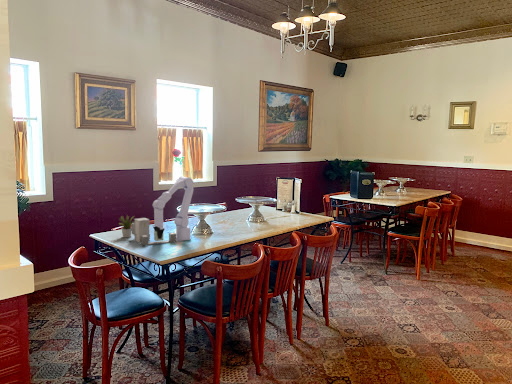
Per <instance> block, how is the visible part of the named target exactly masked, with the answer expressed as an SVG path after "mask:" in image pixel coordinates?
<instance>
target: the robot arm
mask: <svg viewBox="0 0 512 384" xmlns="http://www.w3.org/2000/svg"><path fill="white" fill-rule="evenodd" d="M180 188H183V190H184V193H183V198H182V203H181V205H180V210H179V212H178V213H177V214H176V216H175V218H174V220H173V222H174V224H175V229H176V230H175V232H176V233H175V234H176V240H177V242H181V241H182V242H183V241H189V240H191V227H190V226H189V223H190V222H189V218H190V217H189V215H188V214H189V213H188V212H189V209H190V206H191V202H192V197H193V195H194V180H193V179H192V177H189V176H188V177H187V176H180V177H179V178H178V179H176V181H175V183H174V184H173V185H172V186H171V187H170V188H169V189H168V190H167V191H164V192H162V194H161V195H160V196H159V197H158V198H157V199H155V200H154V201H153V202H152V204H151V205H152V208H153V213H154V214H153V217H154V221H153V223H154V224H152V227H153V229H154V231H157V235H158V239H162V235H163V236H164V231H165V228H164V208H165V206H166V203H168V201H170V200H171V199H172V195H173V194H174V193H175V192H176V191H178V190H179V189H180Z"/></svg>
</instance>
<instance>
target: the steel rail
mask: <svg viewBox="0 0 512 384" xmlns="http://www.w3.org/2000/svg"><path fill="white" fill-rule="evenodd" d="M172 243H178V241H177V240H176V241H174V242H171V241H169V239H168V240H162V241H148V244H145V245H143V244H142V243H141V242H139V245H140V246H142V247H143V246H144V247H145V246H151V245H152V246H153V245H155V246H156V245H162V244H172Z"/></svg>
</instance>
